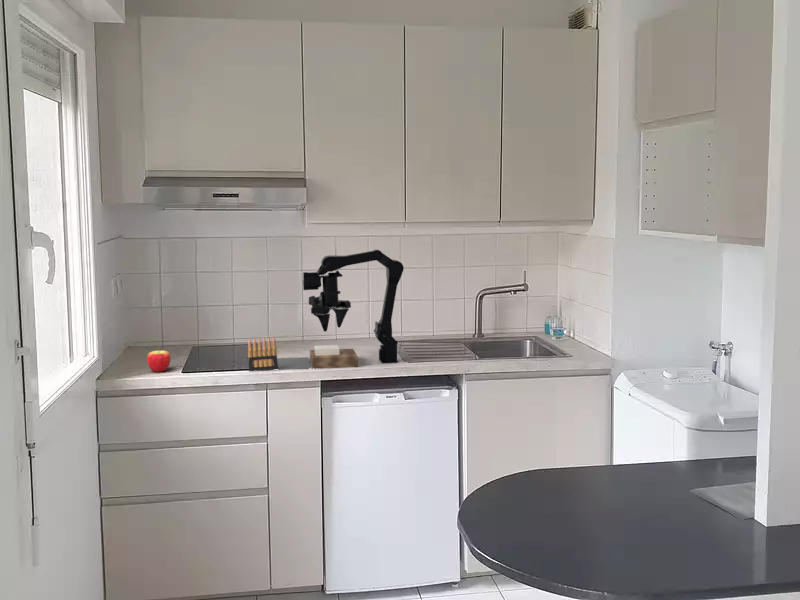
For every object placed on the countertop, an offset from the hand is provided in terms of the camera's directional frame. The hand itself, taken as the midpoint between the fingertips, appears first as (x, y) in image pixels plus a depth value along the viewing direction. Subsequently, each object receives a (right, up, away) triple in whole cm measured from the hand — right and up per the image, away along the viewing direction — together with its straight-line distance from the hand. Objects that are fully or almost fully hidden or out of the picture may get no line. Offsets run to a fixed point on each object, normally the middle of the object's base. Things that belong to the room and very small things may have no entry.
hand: (332, 329), depth 312 cm
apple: (-63, -15, -11) cm, 66 cm away
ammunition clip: (-25, -15, -10) cm, 30 cm away
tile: (-2, -9, +1) cm, 10 cm away
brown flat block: (0, -13, +2) cm, 13 cm away
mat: (-16, -13, +1) cm, 21 cm away
